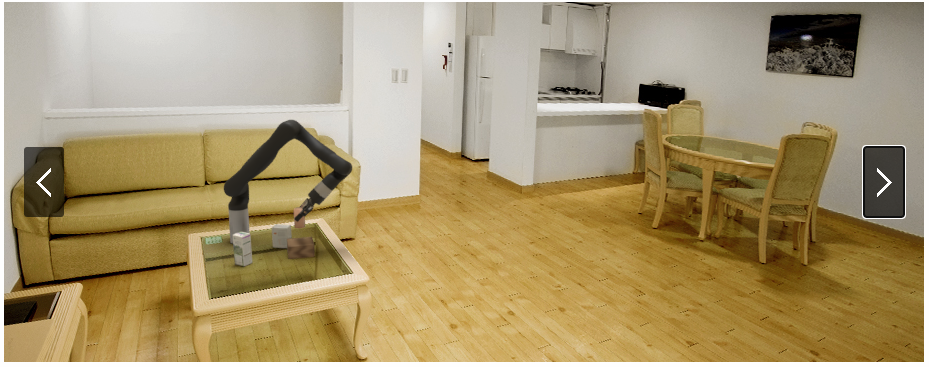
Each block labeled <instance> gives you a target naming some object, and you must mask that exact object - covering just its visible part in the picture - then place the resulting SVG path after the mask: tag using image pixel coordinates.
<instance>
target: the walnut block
mask: <svg viewBox="0 0 929 367" xmlns="http://www.w3.org/2000/svg"><path fill="white" fill-rule="evenodd" d="M286 250H287V258H288V260H289V259H290V260H291V259H292V260H293V259H301V258H302V259H303V258H304V259H305V258H313V257H315V256H316V254H315V243H314V240H313V237H312V236H305V237H304V236H303V237H292V238H290V239H287V248H286Z"/></svg>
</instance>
